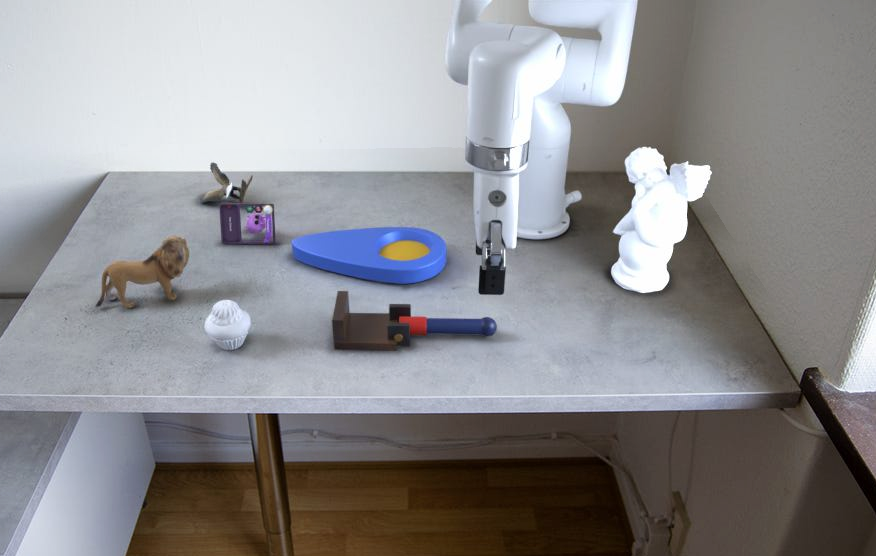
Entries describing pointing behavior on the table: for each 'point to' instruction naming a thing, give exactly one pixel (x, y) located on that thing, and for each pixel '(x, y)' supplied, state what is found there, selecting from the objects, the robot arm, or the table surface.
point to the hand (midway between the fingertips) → (489, 273)
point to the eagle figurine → (224, 187)
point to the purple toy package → (254, 224)
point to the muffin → (228, 325)
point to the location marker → (375, 253)
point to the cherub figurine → (654, 218)
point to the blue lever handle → (449, 325)
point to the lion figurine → (147, 271)
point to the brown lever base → (369, 327)
